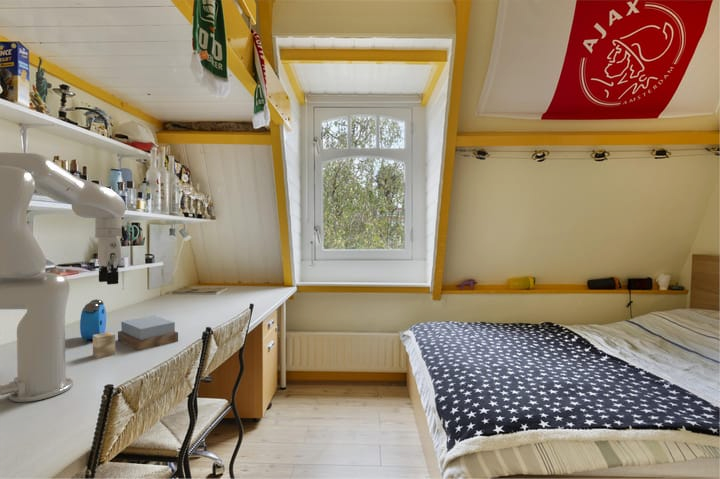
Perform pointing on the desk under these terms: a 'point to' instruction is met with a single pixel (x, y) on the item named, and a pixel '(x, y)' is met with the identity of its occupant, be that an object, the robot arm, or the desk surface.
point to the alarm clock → (93, 319)
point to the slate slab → (147, 327)
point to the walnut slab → (147, 340)
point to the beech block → (103, 345)
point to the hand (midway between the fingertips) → (108, 282)
